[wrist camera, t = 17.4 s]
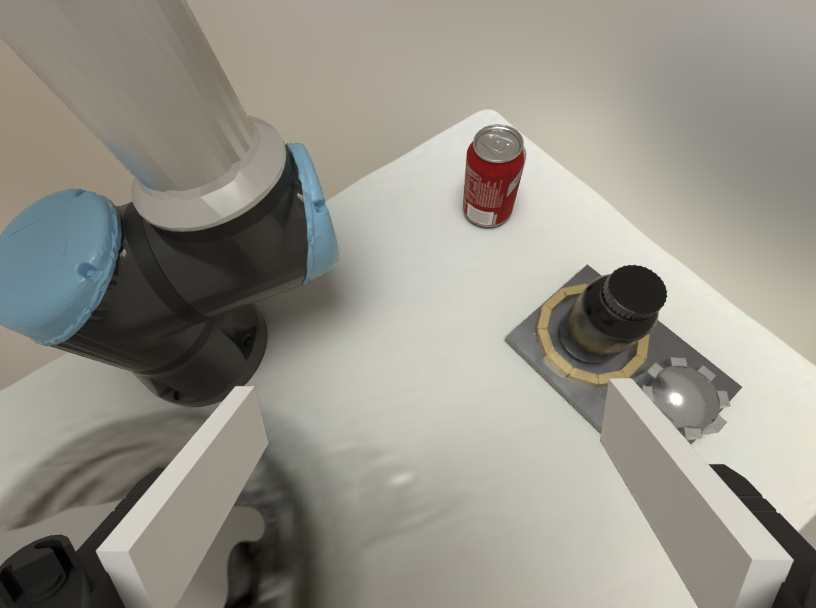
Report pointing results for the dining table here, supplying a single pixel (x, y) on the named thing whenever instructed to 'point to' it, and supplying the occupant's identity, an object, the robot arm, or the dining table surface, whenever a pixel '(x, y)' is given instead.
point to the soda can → (493, 174)
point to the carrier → (626, 368)
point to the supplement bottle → (613, 314)
